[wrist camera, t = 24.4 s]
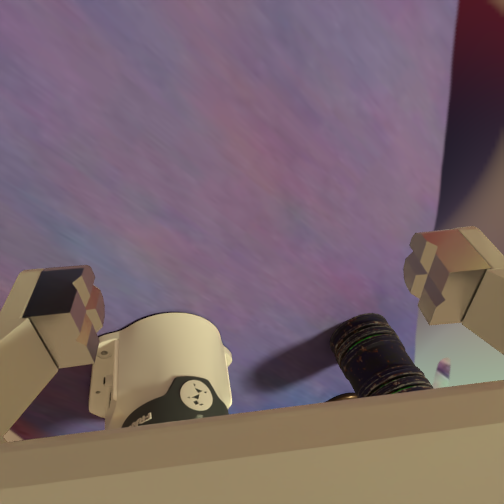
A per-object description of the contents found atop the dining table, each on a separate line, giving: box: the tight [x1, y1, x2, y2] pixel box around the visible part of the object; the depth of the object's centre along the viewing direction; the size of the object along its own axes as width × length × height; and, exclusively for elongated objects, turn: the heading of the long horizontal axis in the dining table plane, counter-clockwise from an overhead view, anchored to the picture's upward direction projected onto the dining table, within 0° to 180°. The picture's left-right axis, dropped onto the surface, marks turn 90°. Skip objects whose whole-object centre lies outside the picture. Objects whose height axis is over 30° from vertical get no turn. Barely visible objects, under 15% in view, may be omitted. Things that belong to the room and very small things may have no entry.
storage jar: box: [330, 313, 433, 398], centre depth 57 cm, size 10×10×15 cm
